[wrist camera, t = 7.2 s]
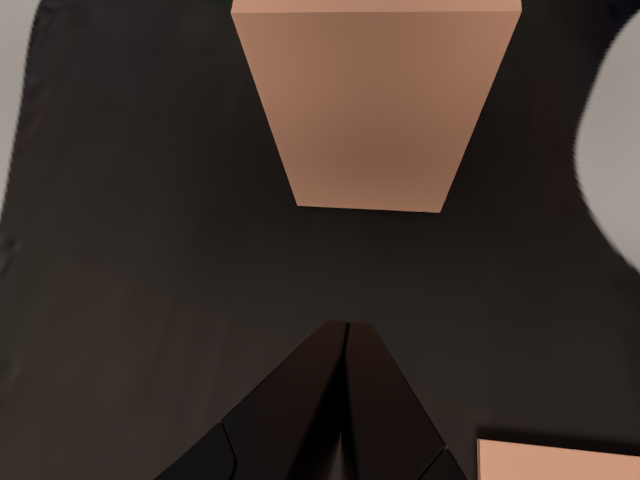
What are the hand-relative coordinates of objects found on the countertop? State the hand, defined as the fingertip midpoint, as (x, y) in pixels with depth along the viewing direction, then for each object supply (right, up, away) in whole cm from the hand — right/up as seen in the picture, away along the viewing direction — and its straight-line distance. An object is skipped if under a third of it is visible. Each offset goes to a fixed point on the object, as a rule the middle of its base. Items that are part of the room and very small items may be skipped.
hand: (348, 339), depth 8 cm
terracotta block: (+2, +6, +11) cm, 13 cm away
